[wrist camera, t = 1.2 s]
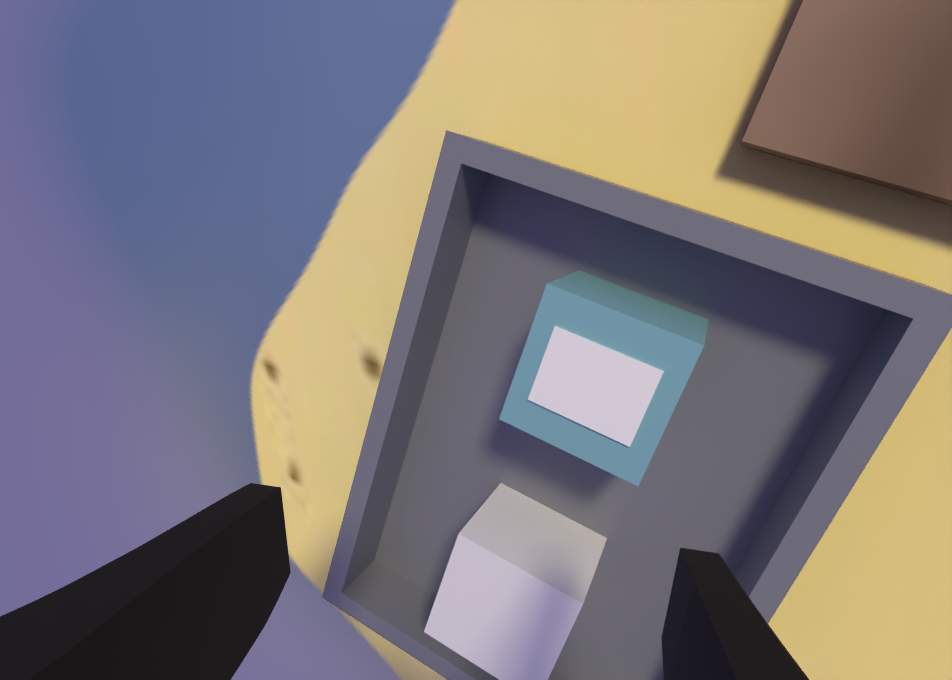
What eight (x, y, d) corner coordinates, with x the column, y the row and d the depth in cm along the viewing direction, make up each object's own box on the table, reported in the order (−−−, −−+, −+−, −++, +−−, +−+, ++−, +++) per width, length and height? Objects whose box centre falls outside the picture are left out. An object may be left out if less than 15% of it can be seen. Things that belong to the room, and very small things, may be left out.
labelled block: (708, 319, 18) (703, 346, 15) (654, 436, 20) (637, 487, 16) (579, 270, 20) (545, 283, 16) (537, 383, 21) (497, 420, 18)
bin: (928, 285, 16) (968, 300, 14) (659, 741, 23) (650, 812, 20) (482, 140, 21) (446, 130, 18) (362, 559, 27) (322, 597, 25)
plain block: (607, 538, 21) (583, 603, 18) (566, 626, 23) (536, 703, 19) (500, 482, 23) (458, 533, 19) (468, 569, 24) (423, 631, 21)
